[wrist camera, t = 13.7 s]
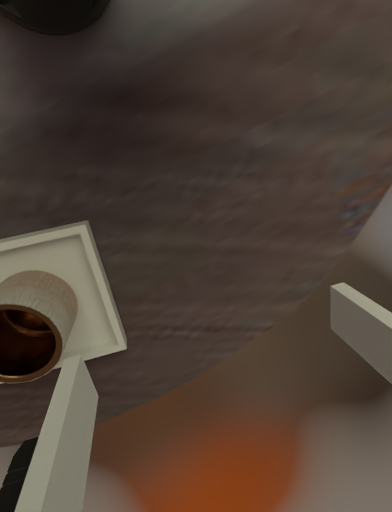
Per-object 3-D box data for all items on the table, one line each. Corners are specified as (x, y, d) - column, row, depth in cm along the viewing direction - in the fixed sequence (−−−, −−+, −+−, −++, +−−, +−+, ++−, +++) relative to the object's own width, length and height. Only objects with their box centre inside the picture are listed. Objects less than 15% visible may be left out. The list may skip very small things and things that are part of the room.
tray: (-72, 255, 37) (-85, 261, 35) (87, 220, 40) (85, 224, 37) (-4, 374, 45) (-11, 386, 42) (127, 339, 47) (126, 349, 45)
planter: (-16, 272, 39) (-60, 309, 30) (71, 264, 41) (54, 296, 32) (6, 341, 42) (-28, 392, 34) (84, 330, 44) (72, 376, 36)
